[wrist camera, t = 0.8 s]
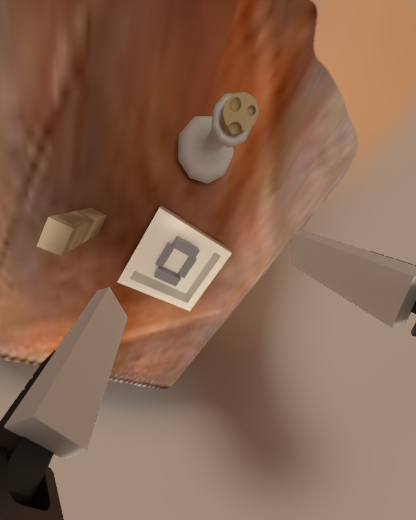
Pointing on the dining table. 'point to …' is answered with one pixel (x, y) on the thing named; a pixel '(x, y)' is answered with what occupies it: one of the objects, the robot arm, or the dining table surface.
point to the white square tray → (174, 261)
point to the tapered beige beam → (70, 230)
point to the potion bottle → (216, 136)
